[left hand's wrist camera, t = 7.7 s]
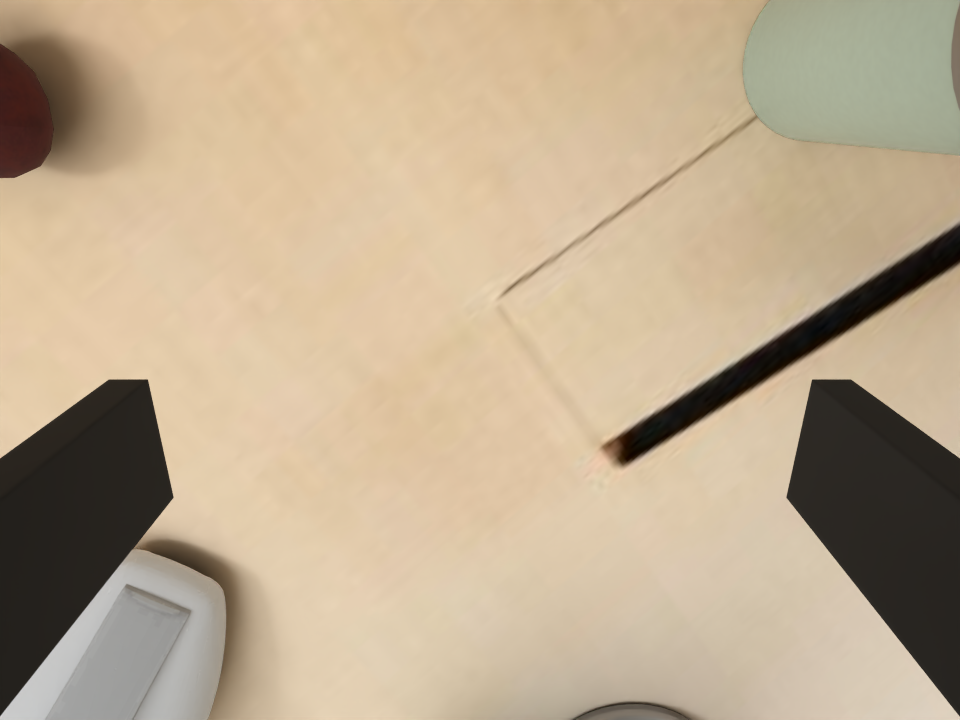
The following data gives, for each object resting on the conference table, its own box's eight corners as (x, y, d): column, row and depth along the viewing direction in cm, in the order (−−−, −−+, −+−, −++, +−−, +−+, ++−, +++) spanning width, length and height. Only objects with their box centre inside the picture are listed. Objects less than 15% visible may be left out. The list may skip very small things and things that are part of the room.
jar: (763, -44, 33) (1107, -229, 15) (927, -29, 34) (1461, -195, 15) (726, 134, 37) (971, 159, 18) (875, 146, 37) (1263, 181, 19)
